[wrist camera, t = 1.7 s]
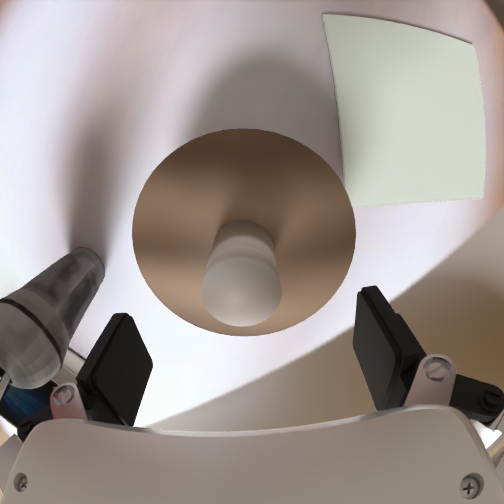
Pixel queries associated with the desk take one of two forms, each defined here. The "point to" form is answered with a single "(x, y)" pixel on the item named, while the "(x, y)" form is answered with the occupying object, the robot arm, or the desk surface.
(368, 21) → the mat
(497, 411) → the robot arm
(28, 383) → the beverage cup
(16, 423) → the laptop
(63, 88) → the desk surface
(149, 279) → the lid
